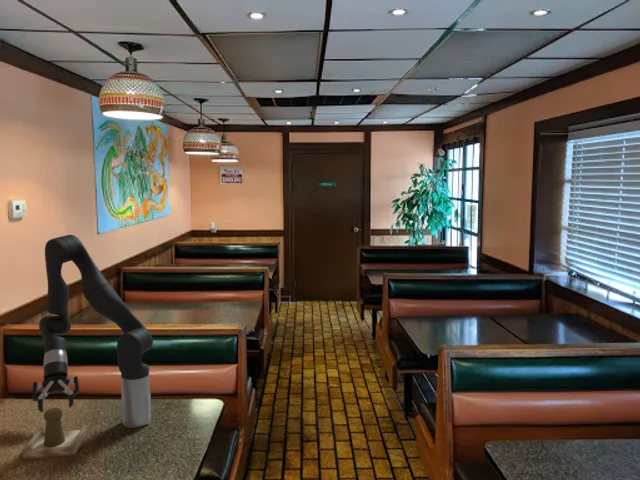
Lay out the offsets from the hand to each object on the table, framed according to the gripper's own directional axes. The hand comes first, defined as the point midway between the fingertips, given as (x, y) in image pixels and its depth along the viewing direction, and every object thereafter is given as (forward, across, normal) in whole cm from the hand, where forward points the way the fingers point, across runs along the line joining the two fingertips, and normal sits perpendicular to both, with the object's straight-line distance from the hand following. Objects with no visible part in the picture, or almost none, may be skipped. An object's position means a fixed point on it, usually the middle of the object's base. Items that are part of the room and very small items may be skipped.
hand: (56, 409), depth 167 cm
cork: (+12, 0, -2) cm, 12 cm away
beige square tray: (+13, 0, -2) cm, 13 cm away
